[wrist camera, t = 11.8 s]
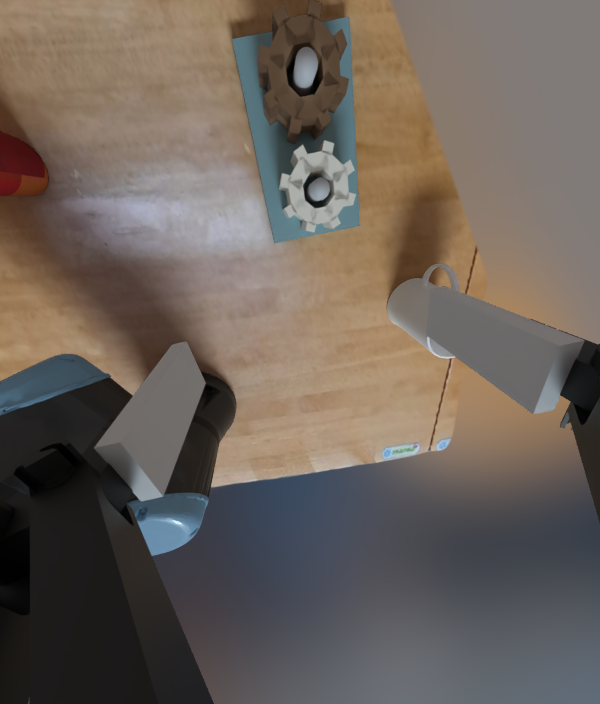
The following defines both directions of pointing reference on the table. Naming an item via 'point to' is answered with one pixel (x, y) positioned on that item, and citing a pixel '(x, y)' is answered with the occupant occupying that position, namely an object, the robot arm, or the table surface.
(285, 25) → the walnut gear
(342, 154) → the gear board
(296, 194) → the cream gear
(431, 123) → the table surface
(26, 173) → the paper cup
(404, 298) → the mug
